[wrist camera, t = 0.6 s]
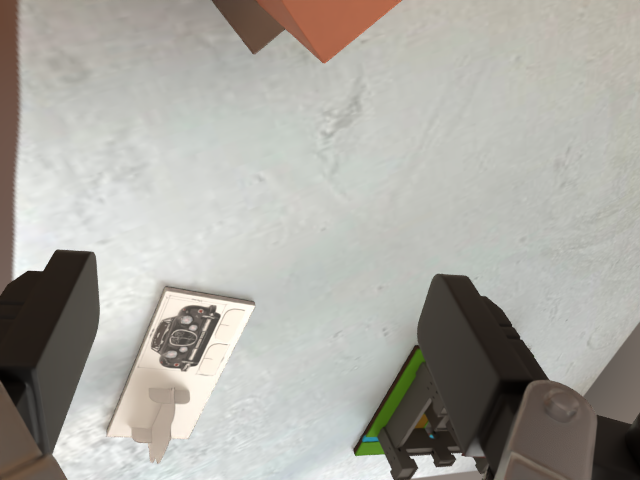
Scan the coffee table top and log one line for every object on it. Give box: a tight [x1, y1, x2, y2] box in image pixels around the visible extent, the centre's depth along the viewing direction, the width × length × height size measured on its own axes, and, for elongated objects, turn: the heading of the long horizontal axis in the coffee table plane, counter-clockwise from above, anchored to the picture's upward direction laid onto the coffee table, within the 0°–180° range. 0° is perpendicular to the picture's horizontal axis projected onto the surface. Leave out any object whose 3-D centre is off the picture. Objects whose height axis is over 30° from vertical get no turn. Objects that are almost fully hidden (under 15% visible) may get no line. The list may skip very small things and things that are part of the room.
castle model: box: [354, 346, 534, 480], centre depth 51 cm, size 15×15×7 cm
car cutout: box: [106, 287, 255, 464], centre depth 38 cm, size 15×7×4 cm, turn 153°
